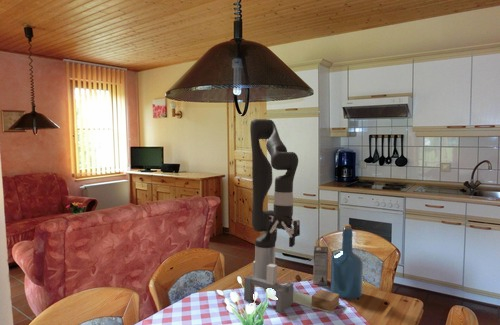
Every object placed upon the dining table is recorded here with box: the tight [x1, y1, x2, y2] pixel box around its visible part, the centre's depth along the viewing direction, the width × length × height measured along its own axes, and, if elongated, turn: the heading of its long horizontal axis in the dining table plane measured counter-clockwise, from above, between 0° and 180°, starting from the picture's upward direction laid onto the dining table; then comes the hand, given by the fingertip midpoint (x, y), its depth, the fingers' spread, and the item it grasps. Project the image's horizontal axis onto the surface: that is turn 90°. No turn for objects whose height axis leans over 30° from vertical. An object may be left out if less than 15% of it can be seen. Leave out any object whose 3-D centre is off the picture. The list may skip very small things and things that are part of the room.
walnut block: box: [311, 289, 340, 312], centre depth 139 cm, size 8×8×4 cm
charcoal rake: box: [243, 264, 294, 314], centre depth 142 cm, size 19×10×16 cm, turn 56°
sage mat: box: [293, 290, 340, 314], centre depth 143 cm, size 20×10×1 cm, turn 56°
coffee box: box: [312, 245, 329, 286], centre depth 165 cm, size 9×6×16 cm
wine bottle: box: [330, 224, 364, 300], centre depth 152 cm, size 14×13×30 cm
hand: (282, 244), depth 140 cm, fingers open, 8 cm apart
